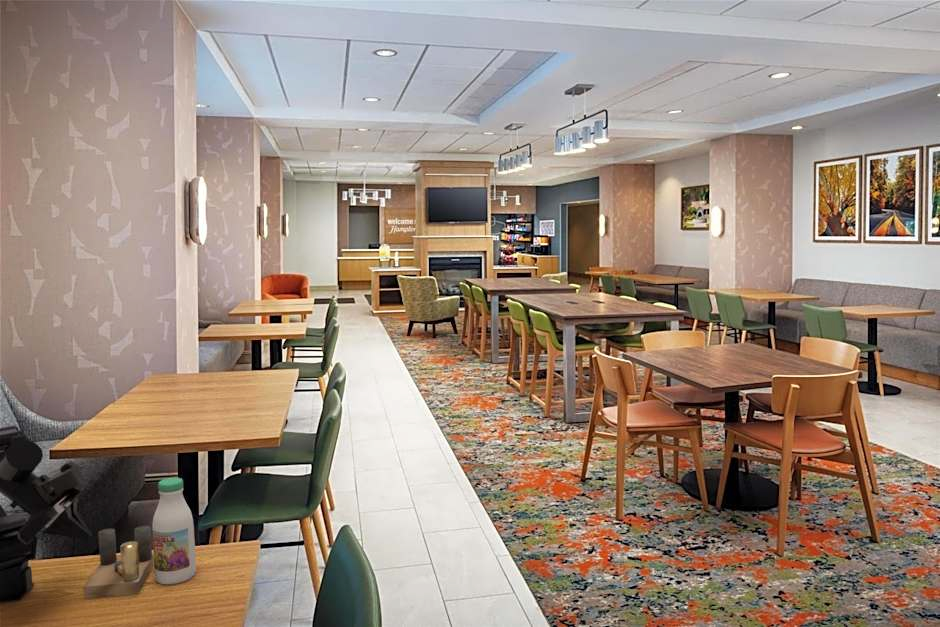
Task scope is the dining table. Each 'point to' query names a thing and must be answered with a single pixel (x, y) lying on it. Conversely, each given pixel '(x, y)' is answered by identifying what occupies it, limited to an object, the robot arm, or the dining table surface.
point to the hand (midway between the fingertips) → (89, 537)
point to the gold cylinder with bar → (129, 561)
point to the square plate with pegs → (107, 576)
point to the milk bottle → (173, 535)
